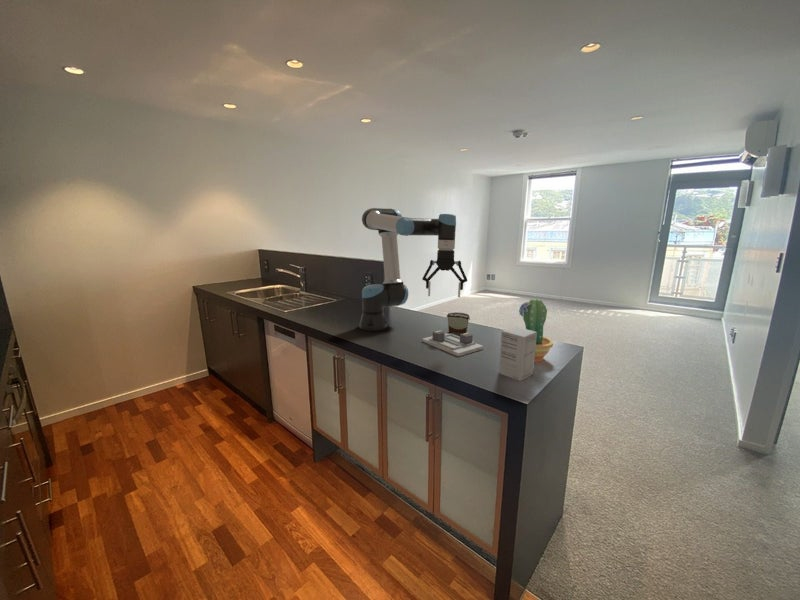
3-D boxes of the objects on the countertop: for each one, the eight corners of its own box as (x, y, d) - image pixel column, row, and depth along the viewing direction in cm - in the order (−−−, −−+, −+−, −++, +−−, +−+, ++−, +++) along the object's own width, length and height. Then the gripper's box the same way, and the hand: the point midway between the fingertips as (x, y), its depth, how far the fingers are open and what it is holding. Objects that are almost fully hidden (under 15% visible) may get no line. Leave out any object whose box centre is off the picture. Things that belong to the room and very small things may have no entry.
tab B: (459, 342, 155) (460, 333, 154) (465, 341, 157) (466, 331, 157) (466, 345, 152) (466, 335, 151) (472, 343, 154) (472, 333, 153)
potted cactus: (520, 348, 153) (525, 295, 148) (556, 356, 143) (562, 299, 138) (507, 358, 141) (512, 300, 136) (545, 368, 131) (552, 306, 126)
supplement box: (511, 366, 132) (515, 325, 129) (533, 374, 125) (537, 331, 122) (497, 373, 126) (501, 330, 123) (520, 381, 119) (524, 336, 116)
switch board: (422, 341, 162) (422, 336, 161) (446, 335, 171) (446, 331, 170) (458, 356, 143) (458, 351, 142) (483, 349, 152) (483, 344, 151)
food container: (471, 331, 178) (472, 313, 176) (468, 335, 172) (469, 316, 170) (449, 329, 183) (449, 311, 181) (445, 332, 177) (446, 313, 175)
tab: (432, 340, 158) (432, 330, 158) (438, 338, 161) (438, 329, 160) (438, 342, 155) (438, 332, 154) (444, 340, 158) (444, 331, 157)
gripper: (417, 249, 147) (416, 296, 151) (475, 250, 144) (472, 299, 148) (418, 248, 154) (417, 293, 159) (473, 249, 151) (470, 295, 156)
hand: (443, 296), depth 153 cm, fingers open, 13 cm apart
